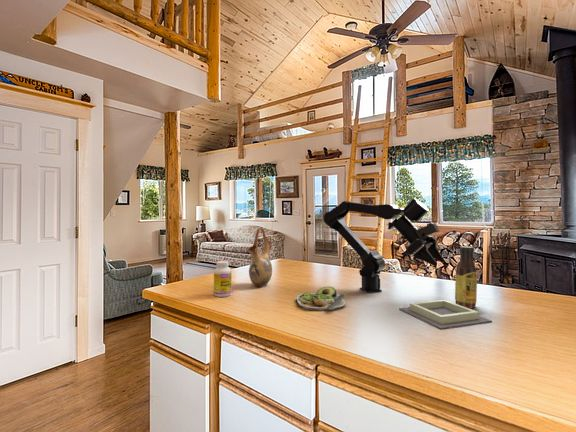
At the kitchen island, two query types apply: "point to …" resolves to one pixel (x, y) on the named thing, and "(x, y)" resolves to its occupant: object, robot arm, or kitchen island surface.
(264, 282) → the ceramic vessel
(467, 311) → the bottle collar
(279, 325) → the kitchen island surface
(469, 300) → the sauce bottle
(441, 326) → the rubber mat
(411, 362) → the kitchen island surface
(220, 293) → the supplement bottle
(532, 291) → the kitchen island surface
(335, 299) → the salad plate
